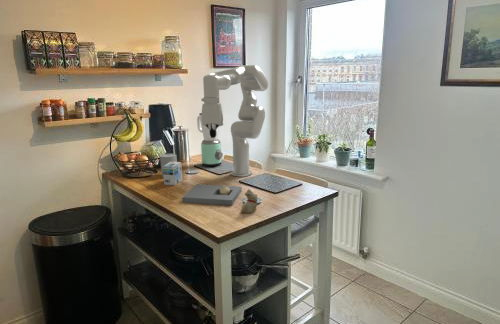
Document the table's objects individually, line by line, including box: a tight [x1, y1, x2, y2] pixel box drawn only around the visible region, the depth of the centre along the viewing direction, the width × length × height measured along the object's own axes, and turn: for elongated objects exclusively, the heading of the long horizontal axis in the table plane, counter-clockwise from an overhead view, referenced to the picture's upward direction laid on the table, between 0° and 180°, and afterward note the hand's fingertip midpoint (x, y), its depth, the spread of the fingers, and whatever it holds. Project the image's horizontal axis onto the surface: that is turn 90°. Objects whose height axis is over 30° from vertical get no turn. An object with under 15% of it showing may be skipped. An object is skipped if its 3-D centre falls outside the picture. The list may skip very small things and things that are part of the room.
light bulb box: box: [163, 161, 183, 186], centre depth 192 cm, size 11×7×11 cm, turn 168°
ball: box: [219, 185, 230, 195], centre depth 170 cm, size 5×5×5 cm
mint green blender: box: [196, 112, 224, 167], centre depth 227 cm, size 19×13×35 cm
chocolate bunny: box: [240, 188, 259, 214], centre depth 151 cm, size 6×8×10 cm
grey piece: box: [159, 153, 178, 178], centre depth 206 cm, size 10×10×12 cm
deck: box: [181, 184, 243, 206], centre depth 170 cm, size 20×24×2 cm
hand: (213, 137), depth 176 cm, fingers closed
